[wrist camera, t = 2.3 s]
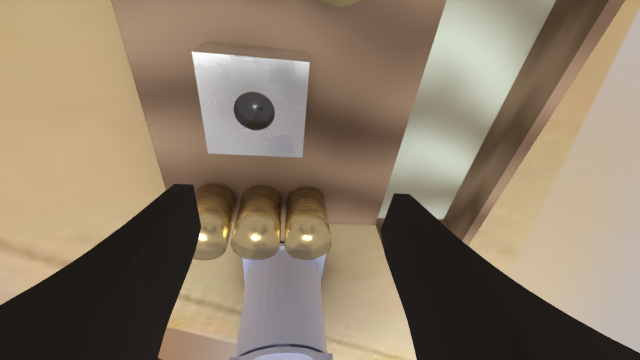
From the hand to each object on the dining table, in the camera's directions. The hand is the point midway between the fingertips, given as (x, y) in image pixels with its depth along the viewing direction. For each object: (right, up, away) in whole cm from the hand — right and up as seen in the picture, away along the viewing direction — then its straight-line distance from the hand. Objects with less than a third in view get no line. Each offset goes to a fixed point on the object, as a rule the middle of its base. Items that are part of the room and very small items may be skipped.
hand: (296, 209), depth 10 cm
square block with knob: (-3, +6, +7) cm, 10 cm away
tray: (+2, +6, +8) cm, 10 cm away
